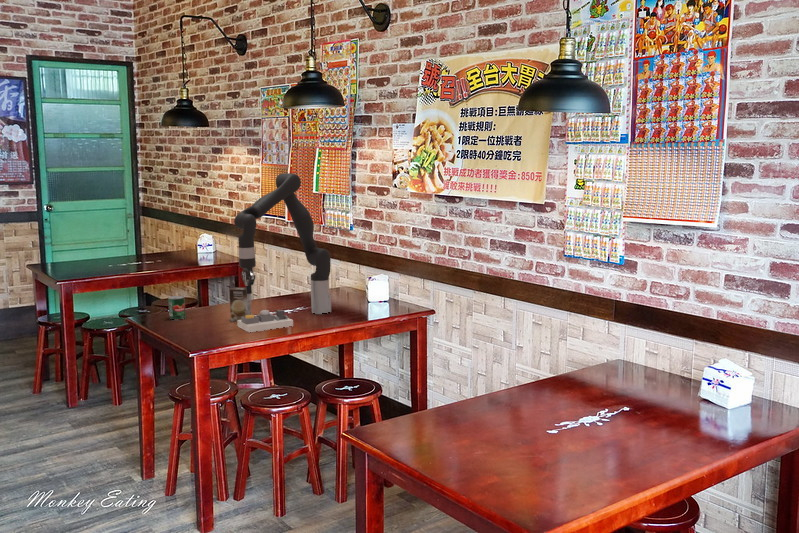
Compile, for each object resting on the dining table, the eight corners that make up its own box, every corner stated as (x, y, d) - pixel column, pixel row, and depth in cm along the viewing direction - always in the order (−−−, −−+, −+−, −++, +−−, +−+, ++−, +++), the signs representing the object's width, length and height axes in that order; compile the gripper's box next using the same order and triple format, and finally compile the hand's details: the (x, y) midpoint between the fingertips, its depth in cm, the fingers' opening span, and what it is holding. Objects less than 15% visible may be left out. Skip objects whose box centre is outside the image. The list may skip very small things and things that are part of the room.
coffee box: (230, 321, 363) (228, 289, 361) (234, 318, 370) (232, 287, 367) (248, 321, 363) (246, 289, 360) (252, 319, 369) (250, 287, 366)
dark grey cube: (282, 317, 356) (282, 309, 356) (284, 318, 354) (284, 310, 353) (276, 318, 355) (276, 310, 354) (278, 319, 352) (278, 311, 352)
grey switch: (267, 315, 355) (267, 309, 354) (270, 317, 352) (270, 311, 351) (259, 316, 353) (259, 310, 352) (262, 318, 349) (262, 312, 349)
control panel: (280, 320, 365) (280, 309, 364) (293, 326, 352) (292, 314, 351) (237, 326, 353) (237, 315, 353) (249, 332, 341) (248, 321, 340)
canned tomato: (175, 316, 376) (174, 295, 375) (189, 317, 374) (187, 296, 372) (166, 319, 369) (164, 298, 367) (179, 320, 366) (178, 299, 365)
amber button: (252, 320, 351) (252, 314, 351) (255, 322, 348) (255, 315, 347) (244, 321, 349) (244, 315, 349) (247, 323, 346) (247, 316, 345)
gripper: (260, 257, 340) (261, 294, 343) (249, 254, 351) (251, 290, 354) (244, 259, 336) (246, 296, 339) (234, 255, 347) (236, 292, 350)
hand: (248, 293), depth 346 cm, fingers closed
